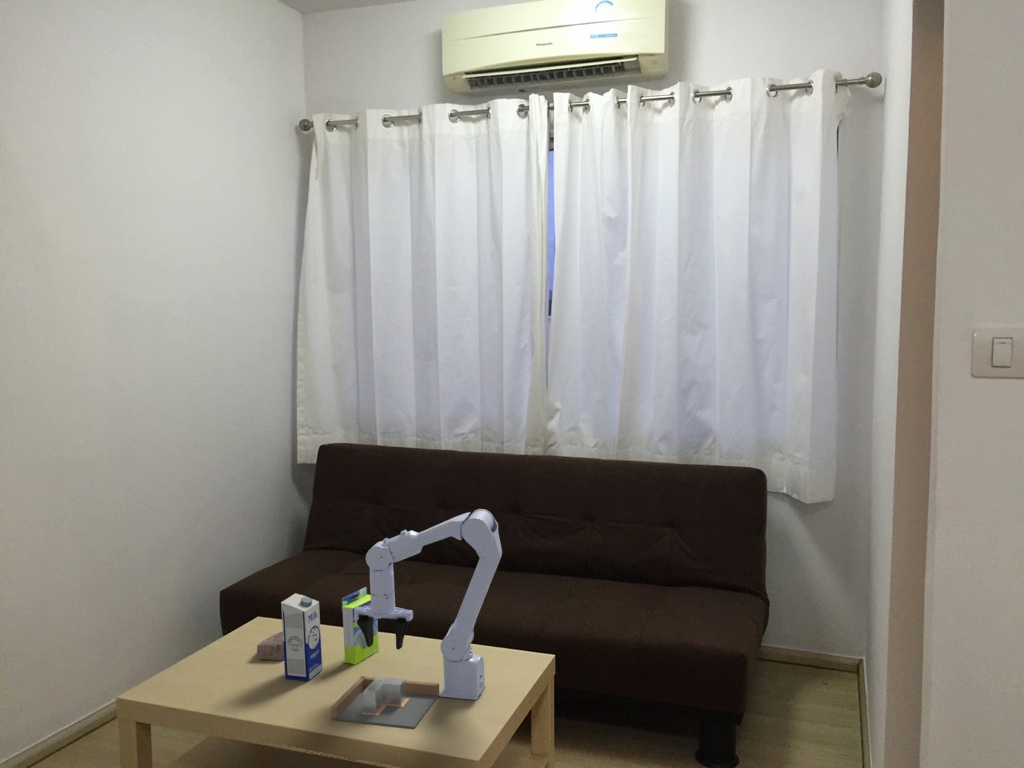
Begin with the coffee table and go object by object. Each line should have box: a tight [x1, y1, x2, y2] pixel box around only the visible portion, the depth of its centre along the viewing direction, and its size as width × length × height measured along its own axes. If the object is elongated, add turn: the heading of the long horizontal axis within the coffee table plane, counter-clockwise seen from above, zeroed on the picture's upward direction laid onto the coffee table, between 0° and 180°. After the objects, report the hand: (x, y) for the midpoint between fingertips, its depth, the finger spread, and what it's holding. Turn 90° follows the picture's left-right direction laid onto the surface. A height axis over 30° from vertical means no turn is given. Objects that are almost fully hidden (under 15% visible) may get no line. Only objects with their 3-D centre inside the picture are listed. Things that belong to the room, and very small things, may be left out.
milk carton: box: [280, 592, 323, 682], centre depth 207 cm, size 7×7×20 cm
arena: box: [330, 675, 440, 730], centre depth 189 cm, size 20×16×3 cm
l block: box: [363, 676, 406, 714], centre depth 188 cm, size 8×7×5 cm
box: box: [341, 586, 380, 665], centre depth 217 cm, size 10×4×17 cm, turn 151°
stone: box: [256, 631, 284, 661], centre depth 222 cm, size 12×9×5 cm
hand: (384, 646), depth 198 cm, fingers open, 7 cm apart
